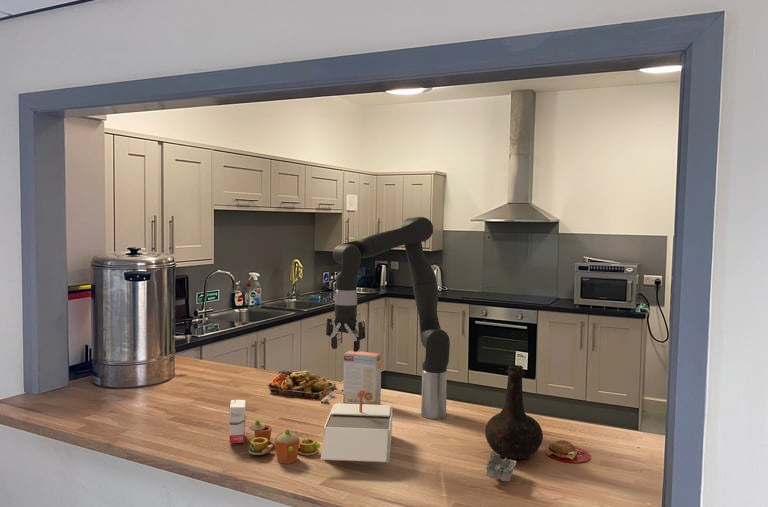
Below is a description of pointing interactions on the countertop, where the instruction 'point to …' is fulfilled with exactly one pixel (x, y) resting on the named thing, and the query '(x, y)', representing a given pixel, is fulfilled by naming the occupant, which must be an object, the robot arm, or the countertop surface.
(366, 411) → the flap
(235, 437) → the ink box
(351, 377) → the cracker box
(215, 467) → the countertop surface
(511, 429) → the glass bottle
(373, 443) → the carton
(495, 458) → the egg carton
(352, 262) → the robot arm
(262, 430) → the toy tea set
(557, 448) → the hamburger
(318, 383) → the food tray
